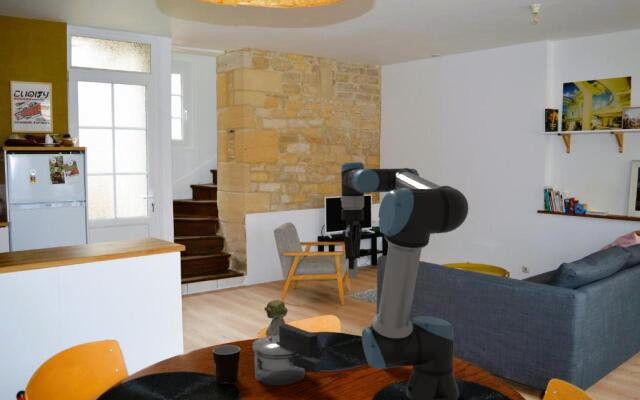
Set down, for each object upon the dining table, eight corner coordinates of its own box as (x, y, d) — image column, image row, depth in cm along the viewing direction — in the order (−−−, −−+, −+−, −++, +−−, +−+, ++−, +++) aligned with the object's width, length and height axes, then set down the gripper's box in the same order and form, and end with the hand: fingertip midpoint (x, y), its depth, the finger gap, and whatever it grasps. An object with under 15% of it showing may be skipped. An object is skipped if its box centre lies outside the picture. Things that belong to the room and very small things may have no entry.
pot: (238, 374, 190) (237, 346, 189) (275, 360, 202) (275, 335, 202) (299, 397, 171) (299, 367, 171) (336, 381, 184) (336, 353, 183)
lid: (242, 346, 189) (241, 322, 189) (284, 335, 200) (284, 313, 200) (290, 368, 170) (290, 342, 169) (334, 354, 181) (334, 330, 180)
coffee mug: (235, 387, 180) (234, 355, 179) (208, 384, 181) (208, 353, 181) (247, 373, 191) (247, 343, 190) (222, 371, 193) (222, 341, 192)
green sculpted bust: (313, 312, 217) (293, 306, 204) (294, 364, 214) (272, 361, 201) (284, 300, 224) (262, 293, 211) (265, 350, 221) (241, 346, 208)
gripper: (348, 206, 204) (348, 273, 206) (335, 209, 192) (335, 280, 194) (369, 207, 201) (369, 275, 203) (356, 210, 189) (356, 282, 191)
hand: (352, 277), depth 199 cm, fingers closed
